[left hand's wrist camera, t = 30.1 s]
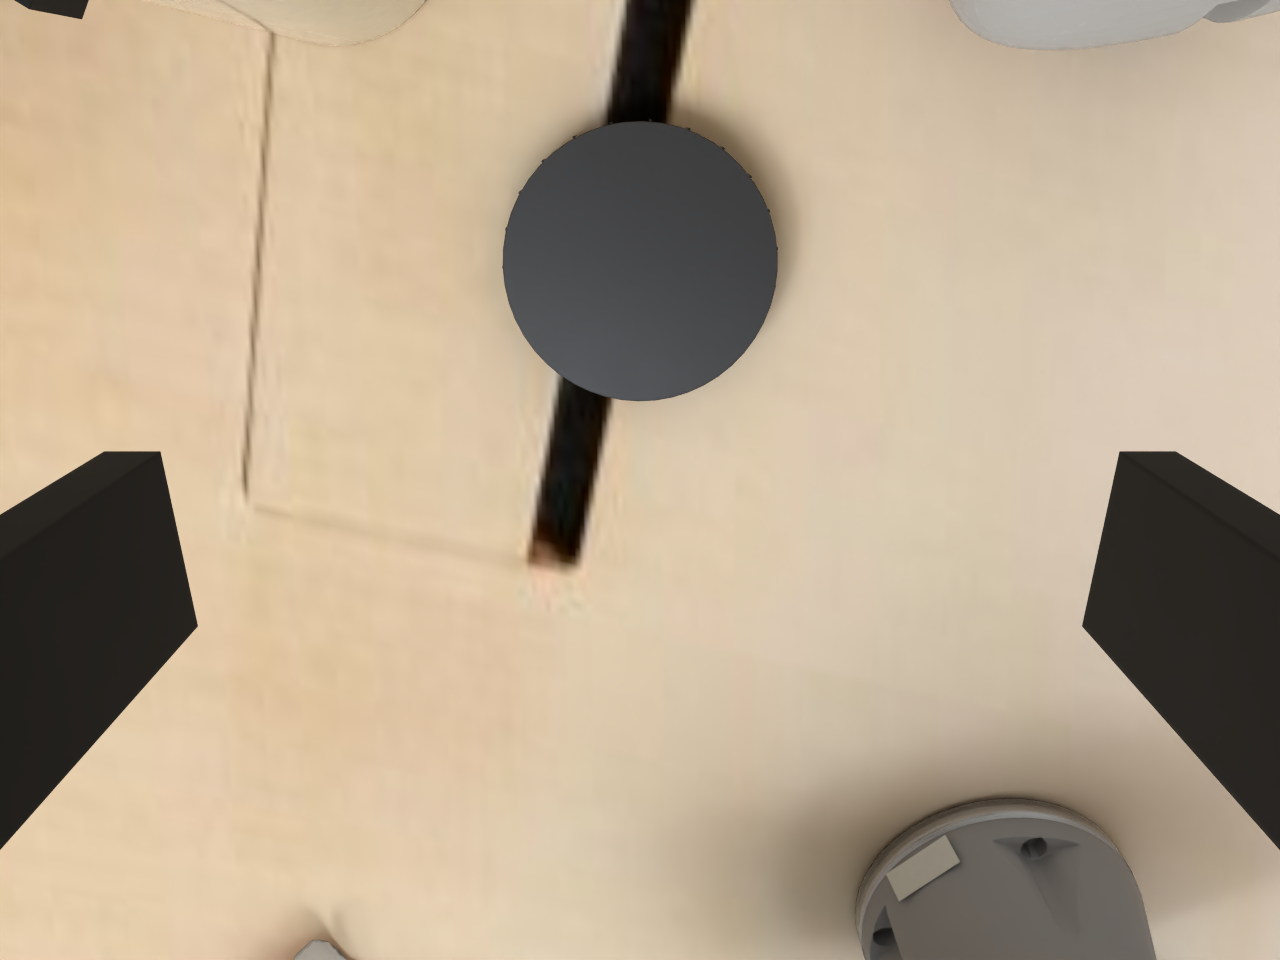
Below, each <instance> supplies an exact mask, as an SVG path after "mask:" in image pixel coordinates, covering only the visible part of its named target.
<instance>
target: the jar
mask: <svg viewBox="0 0 1280 960" xmlns="http://www.w3.org/2000/svg"><path fill="white" fill-rule="evenodd" d="M141 1H145V2H149V3H153V4H157V5H161V6H165V7H169V8H173V9H177V10H181V11H185V12H189V13H193V14H197V15H201V16H205V17H208V18H212V19H216V20H220V21H224V22H228V23H232V24H236V25H240V26H244V27H248V28H252V29H256V30H260V31H264V32H268V33H272V34H276V35H280V36H284V37H288V38H292V39H296V40H300V41H304V42H309V43H314V44H319V45H329V46H344V45H355V44H359V43H363V42H367V41H371V40H373V39H376V38H378V37H381V36H383V35H386V34H387V33H389V32H391V31H392V30H394V29H396V28H397V27H399V26H400V25H402V24H403V23H404V22H405V21H406V20H408V19H409V18H410V17H411V16H412V15H413V14H414V13H415V12H416V11H417V10H418V9H419V8H420V7H421V6H422V4H423V3H424V2H425V1H426V0H141Z"/></svg>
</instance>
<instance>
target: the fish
mask: <svg viewBox="0 0 1280 960" xmlns="http://www.w3.org/2000/svg"><path fill="white" fill-rule="evenodd" d="M293 960H346V958H345V957H344V956H343V955H342V954H341V952H340V951H339V950H338V949H337V948H335V947H334V946H333V945H332V944H330V943H329V942H327V941H323V940H312V941H311V942H310V943H308V944H307V945H306V946H305V947H304V948H303V949H302V950H301V951H300V952H299V953H297V954H296V956H295V957H294V959H293Z"/></svg>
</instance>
